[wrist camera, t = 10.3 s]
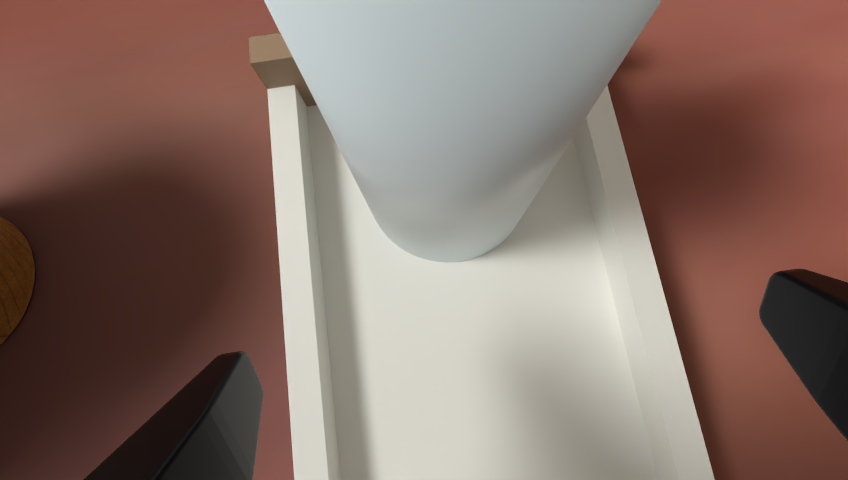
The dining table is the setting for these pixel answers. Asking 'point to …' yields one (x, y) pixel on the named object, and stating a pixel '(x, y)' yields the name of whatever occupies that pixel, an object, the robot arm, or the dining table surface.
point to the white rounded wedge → (455, 102)
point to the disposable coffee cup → (14, 277)
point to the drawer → (474, 324)
